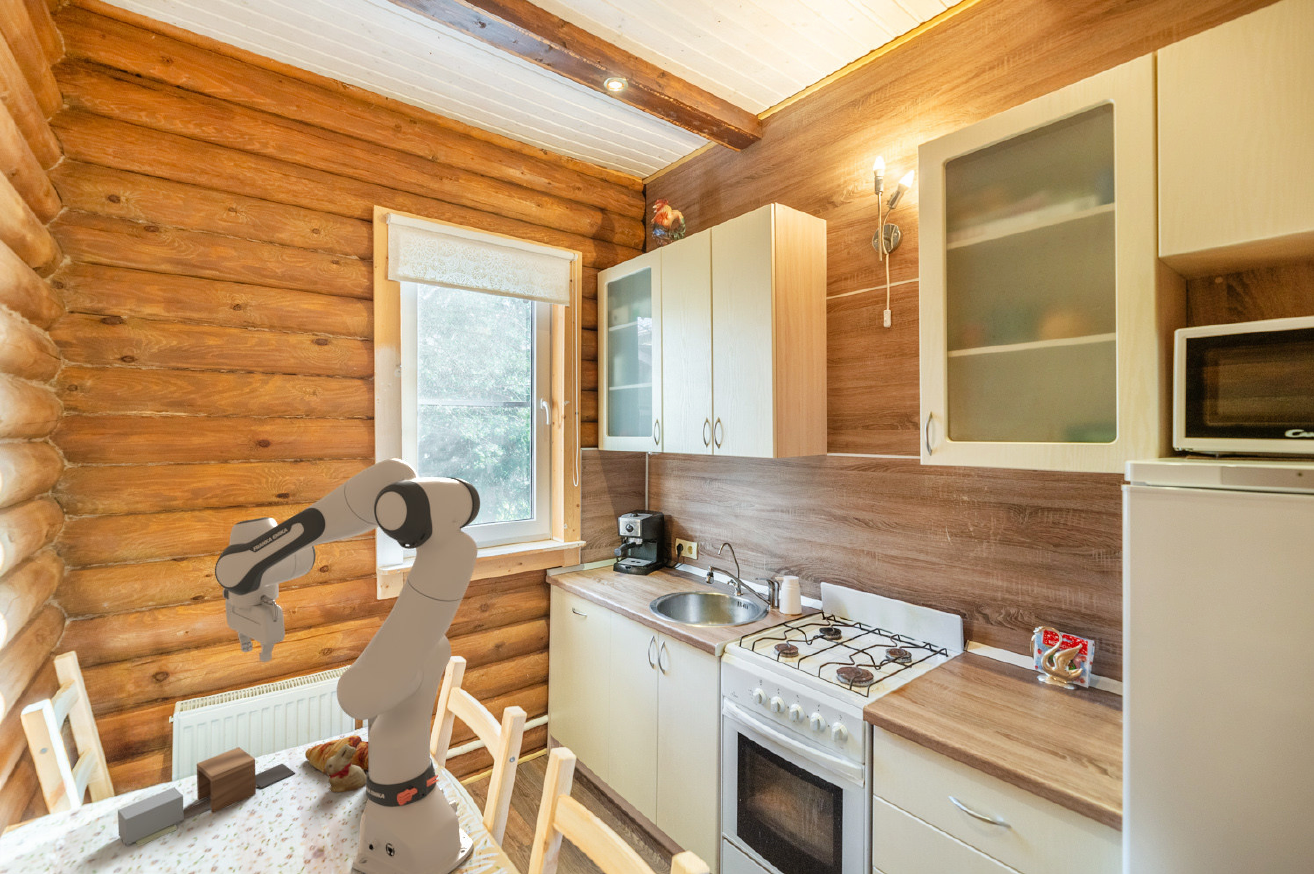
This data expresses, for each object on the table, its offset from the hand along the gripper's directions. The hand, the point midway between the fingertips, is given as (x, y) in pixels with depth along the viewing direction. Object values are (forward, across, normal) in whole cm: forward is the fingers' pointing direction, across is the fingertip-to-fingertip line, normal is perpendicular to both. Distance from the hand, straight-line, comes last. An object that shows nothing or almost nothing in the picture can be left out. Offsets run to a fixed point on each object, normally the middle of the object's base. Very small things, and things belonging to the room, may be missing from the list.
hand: (256, 655), depth 130 cm
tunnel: (+31, +6, +5) cm, 32 cm away
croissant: (+32, -3, -17) cm, 36 cm away
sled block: (+31, +6, +17) cm, 36 cm away
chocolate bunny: (+31, -12, -13) cm, 36 cm away
